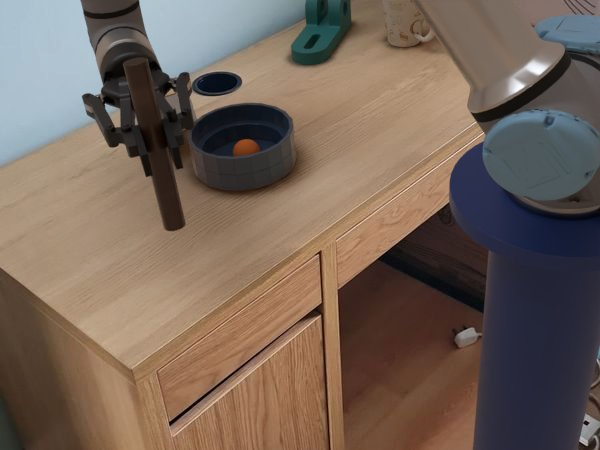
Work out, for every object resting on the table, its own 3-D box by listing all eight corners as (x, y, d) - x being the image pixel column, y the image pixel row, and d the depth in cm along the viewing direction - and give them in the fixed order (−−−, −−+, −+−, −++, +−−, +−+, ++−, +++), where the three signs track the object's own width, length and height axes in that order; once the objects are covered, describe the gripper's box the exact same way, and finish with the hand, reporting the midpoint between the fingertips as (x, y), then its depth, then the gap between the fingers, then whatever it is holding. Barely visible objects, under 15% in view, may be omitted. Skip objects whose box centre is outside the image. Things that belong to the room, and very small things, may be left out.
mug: (405, 26, 149) (405, -26, 143) (453, 46, 141) (455, -8, 135) (372, 40, 146) (370, -12, 139) (419, 62, 137) (420, 7, 131)
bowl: (318, 161, 116) (315, 126, 112) (236, 207, 108) (230, 171, 105) (253, 126, 125) (249, 92, 121) (174, 166, 118) (167, 132, 114)
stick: (190, 223, 93) (152, 58, 83) (174, 233, 91) (133, 66, 81) (175, 218, 94) (136, 56, 85) (159, 228, 93) (117, 63, 83)
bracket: (318, 21, 154) (315, -18, 150) (351, 23, 152) (349, -16, 148) (286, 63, 141) (282, 21, 137) (322, 66, 139) (319, 24, 134)
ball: (236, 150, 117) (256, 167, 117) (223, 158, 114) (244, 175, 113) (248, 130, 115) (269, 147, 115) (236, 137, 112) (257, 155, 111)
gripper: (193, 81, 105) (238, 173, 87) (75, 108, 101) (96, 209, 84) (184, 28, 100) (229, 113, 82) (59, 55, 97) (78, 149, 79)
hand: (162, 161), depth 83 cm, fingers closed on stick, 3 cm apart
